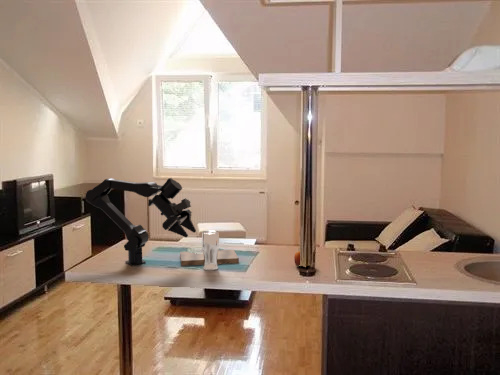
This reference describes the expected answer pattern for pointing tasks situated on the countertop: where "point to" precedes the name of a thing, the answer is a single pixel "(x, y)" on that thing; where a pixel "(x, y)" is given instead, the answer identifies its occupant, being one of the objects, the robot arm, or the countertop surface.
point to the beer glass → (210, 249)
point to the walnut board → (198, 259)
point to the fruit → (297, 259)
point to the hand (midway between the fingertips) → (191, 234)
